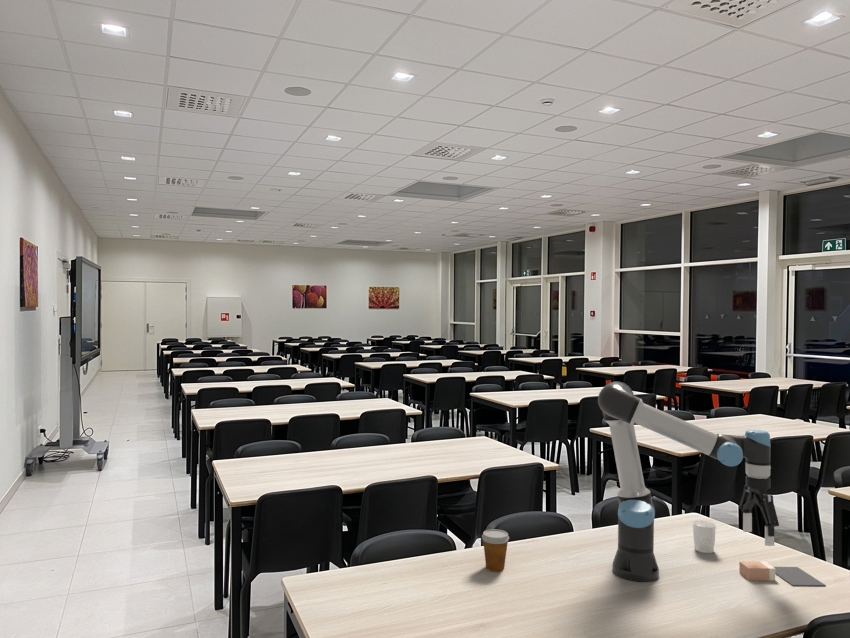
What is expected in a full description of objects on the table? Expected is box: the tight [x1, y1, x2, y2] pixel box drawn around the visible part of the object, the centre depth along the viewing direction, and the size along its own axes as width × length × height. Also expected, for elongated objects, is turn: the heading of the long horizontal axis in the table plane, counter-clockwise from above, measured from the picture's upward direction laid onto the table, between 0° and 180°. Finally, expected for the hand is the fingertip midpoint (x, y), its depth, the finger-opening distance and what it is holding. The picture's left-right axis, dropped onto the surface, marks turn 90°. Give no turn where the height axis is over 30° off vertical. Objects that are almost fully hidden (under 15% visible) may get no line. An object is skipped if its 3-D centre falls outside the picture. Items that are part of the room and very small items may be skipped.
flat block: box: [738, 561, 776, 581], centre depth 208 cm, size 9×6×4 cm, turn 90°
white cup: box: [692, 520, 717, 554], centre depth 232 cm, size 8×8×10 cm
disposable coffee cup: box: [481, 529, 510, 572], centre depth 213 cm, size 10×10×12 cm
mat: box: [773, 566, 827, 587], centre depth 208 cm, size 11×15×1 cm
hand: (758, 538), depth 208 cm, fingers open, 13 cm apart
